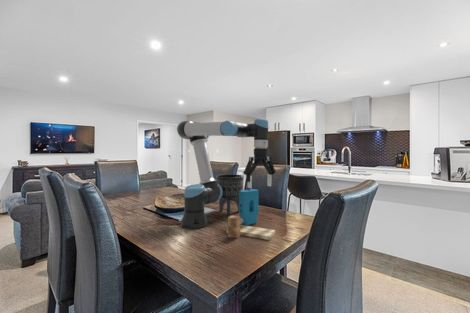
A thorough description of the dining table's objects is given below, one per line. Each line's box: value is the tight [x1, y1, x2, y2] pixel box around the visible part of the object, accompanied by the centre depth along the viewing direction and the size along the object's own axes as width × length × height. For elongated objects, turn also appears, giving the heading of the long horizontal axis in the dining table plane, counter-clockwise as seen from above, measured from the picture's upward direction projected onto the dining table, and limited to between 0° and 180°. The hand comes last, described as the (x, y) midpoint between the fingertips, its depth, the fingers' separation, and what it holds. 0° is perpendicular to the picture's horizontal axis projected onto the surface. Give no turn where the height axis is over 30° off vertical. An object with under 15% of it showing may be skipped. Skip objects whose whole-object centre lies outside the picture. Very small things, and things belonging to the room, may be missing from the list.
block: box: [238, 188, 260, 226], centre depth 137 cm, size 12×5×20 cm, turn 125°
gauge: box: [227, 214, 243, 239], centre depth 119 cm, size 5×12×10 cm, turn 155°
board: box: [226, 224, 276, 241], centre depth 121 cm, size 24×10×2 cm, turn 65°
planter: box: [215, 173, 244, 217], centre depth 160 cm, size 20×20×26 cm
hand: (259, 187), depth 123 cm, fingers open, 13 cm apart
